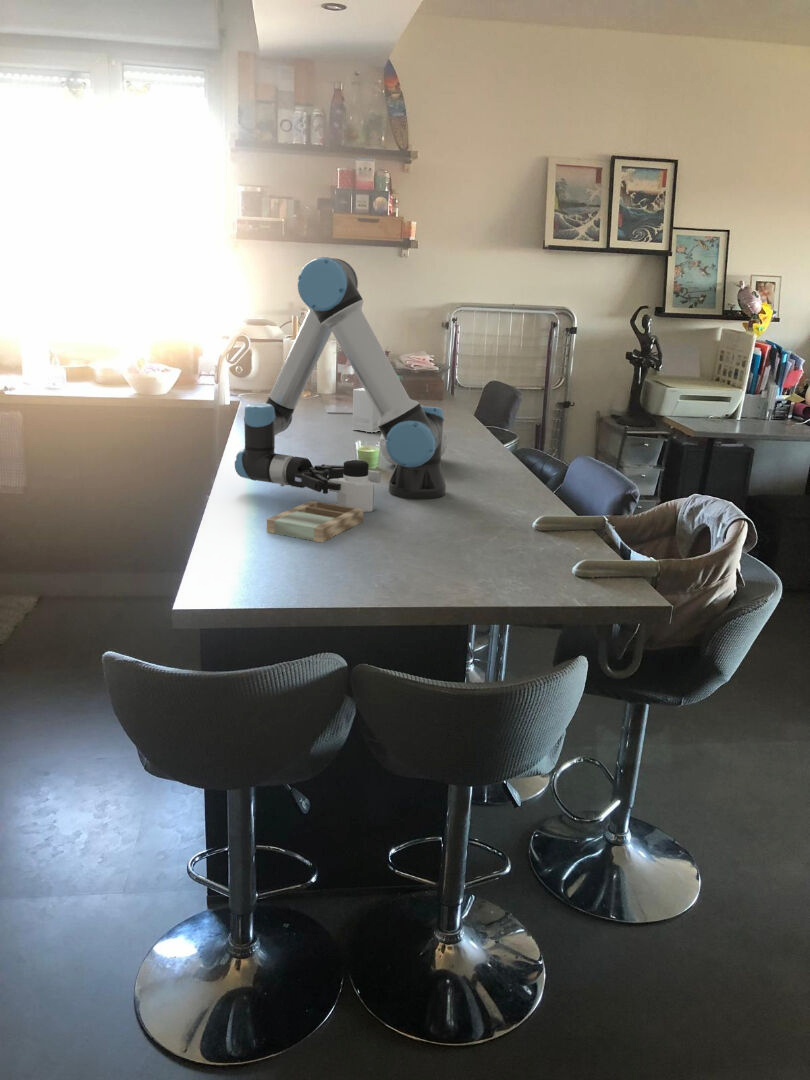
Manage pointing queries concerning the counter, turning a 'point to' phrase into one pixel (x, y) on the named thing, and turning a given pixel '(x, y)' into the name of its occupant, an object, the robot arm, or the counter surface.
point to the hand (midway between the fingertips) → (367, 482)
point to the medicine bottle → (357, 486)
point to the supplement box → (364, 411)
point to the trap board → (315, 521)
